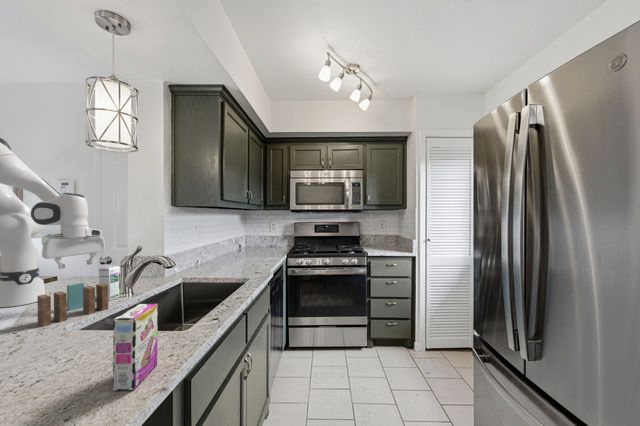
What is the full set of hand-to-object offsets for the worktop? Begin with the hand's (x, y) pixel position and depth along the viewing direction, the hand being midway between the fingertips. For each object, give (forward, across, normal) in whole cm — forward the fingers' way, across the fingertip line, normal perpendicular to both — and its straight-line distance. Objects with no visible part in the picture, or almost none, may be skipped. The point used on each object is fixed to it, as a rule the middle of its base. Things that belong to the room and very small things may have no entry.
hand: (76, 266), depth 119 cm
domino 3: (+17, 0, 0) cm, 17 cm away
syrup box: (+18, +14, +4) cm, 23 cm away
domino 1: (+17, -14, -10) cm, 24 cm away
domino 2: (+17, -9, -10) cm, 22 cm away
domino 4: (+18, 0, -10) cm, 20 cm away
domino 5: (+18, +4, -10) cm, 21 cm away
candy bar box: (+18, -16, -72) cm, 76 cm away
